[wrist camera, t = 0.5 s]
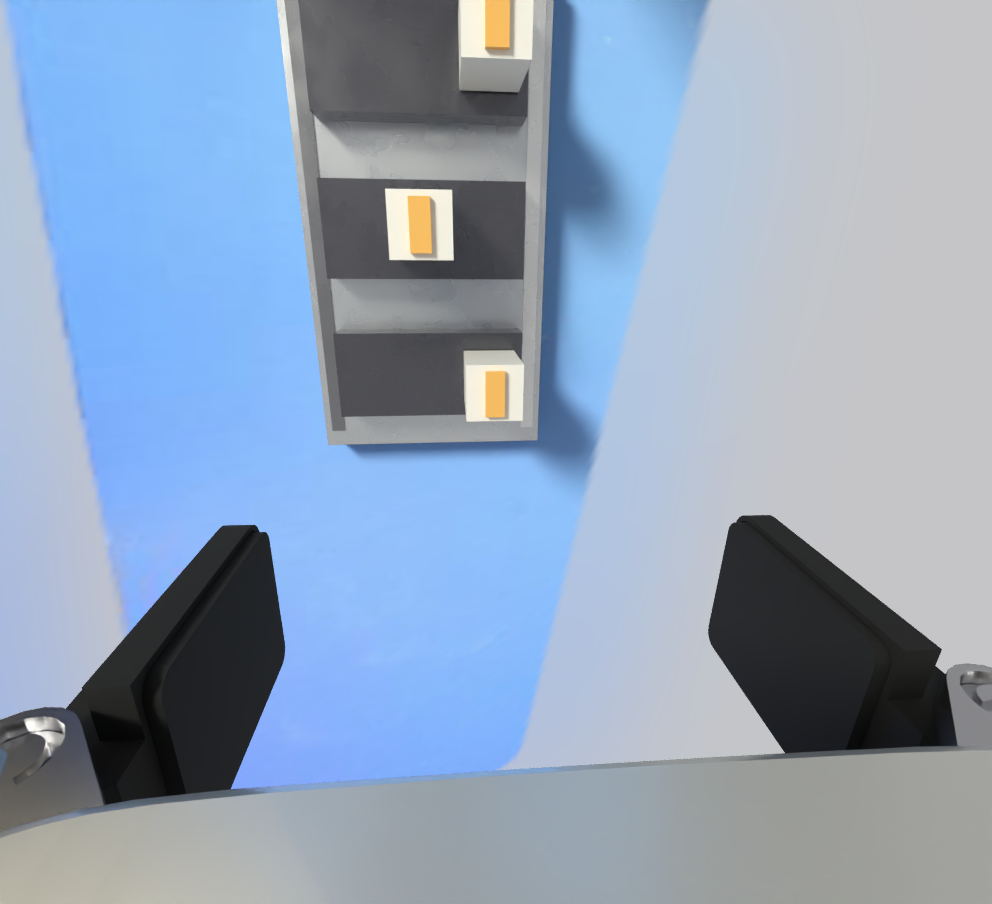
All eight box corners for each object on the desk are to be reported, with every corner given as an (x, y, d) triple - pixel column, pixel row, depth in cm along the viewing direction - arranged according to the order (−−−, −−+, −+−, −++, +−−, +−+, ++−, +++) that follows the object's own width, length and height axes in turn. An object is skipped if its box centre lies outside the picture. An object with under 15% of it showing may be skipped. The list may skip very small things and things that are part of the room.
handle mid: (395, 199, 27) (384, 187, 23) (451, 200, 27) (452, 188, 23) (398, 260, 28) (388, 259, 24) (453, 260, 28) (453, 260, 24)
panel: (282, -39, 26) (254, -88, 23) (548, -25, 28) (563, -69, 24) (334, 435, 36) (321, 455, 32) (532, 431, 37) (542, 450, 33)
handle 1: (458, 16, 25) (459, -38, 20) (520, 19, 25) (535, -34, 20) (459, 90, 26) (461, 54, 21) (518, 92, 26) (532, 57, 21)
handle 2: (463, 350, 30) (465, 366, 26) (513, 350, 30) (524, 365, 26) (464, 399, 31) (466, 423, 27) (512, 399, 31) (523, 422, 27)
